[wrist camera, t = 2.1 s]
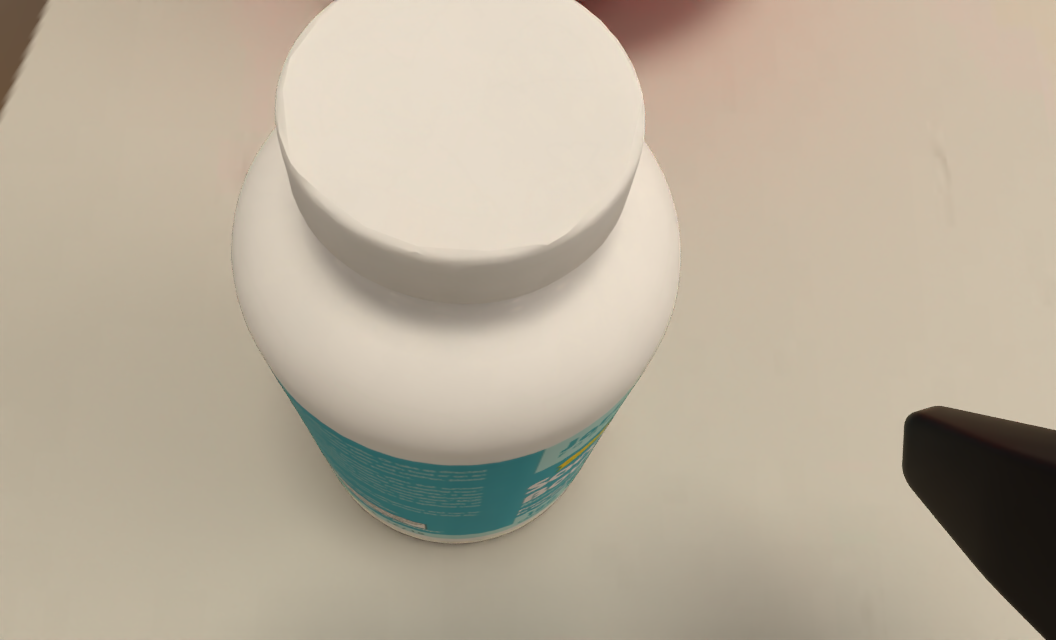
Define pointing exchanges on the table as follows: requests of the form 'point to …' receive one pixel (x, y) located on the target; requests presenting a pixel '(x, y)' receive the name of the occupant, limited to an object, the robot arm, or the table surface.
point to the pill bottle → (456, 252)
